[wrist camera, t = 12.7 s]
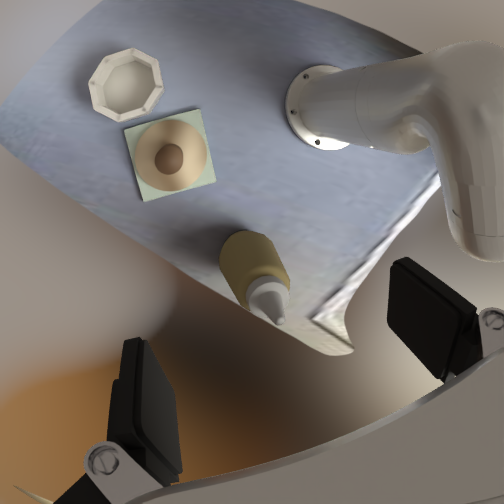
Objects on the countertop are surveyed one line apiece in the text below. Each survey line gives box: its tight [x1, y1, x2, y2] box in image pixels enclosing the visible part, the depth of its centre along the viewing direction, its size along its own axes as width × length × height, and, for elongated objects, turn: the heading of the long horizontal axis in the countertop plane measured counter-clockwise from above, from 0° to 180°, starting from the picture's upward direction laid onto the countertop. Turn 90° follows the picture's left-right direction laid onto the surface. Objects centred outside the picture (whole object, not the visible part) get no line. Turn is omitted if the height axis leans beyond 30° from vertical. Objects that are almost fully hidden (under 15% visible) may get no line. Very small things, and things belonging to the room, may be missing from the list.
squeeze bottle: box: [219, 231, 290, 325], centre depth 38 cm, size 8×8×18 cm
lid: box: [135, 120, 207, 191], centre depth 35 cm, size 9×9×6 cm
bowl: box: [88, 48, 165, 122], centre depth 31 cm, size 8×8×5 cm
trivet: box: [124, 109, 216, 202], centre depth 38 cm, size 10×10×1 cm
